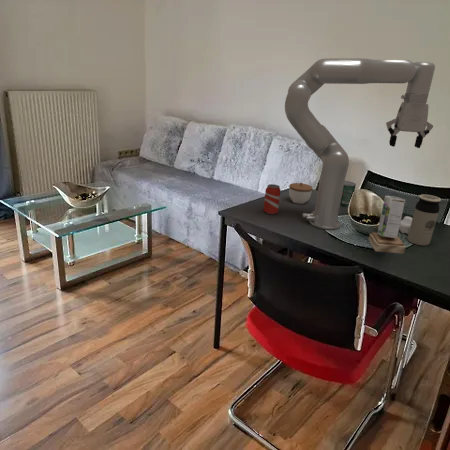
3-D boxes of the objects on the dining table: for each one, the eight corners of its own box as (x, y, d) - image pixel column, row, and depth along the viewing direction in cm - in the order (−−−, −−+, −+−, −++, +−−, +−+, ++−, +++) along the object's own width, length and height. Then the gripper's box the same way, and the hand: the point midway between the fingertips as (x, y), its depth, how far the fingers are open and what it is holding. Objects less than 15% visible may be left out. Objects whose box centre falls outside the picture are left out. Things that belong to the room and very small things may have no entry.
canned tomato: (331, 203, 191) (334, 181, 187) (343, 201, 195) (347, 180, 190) (342, 208, 185) (346, 186, 181) (355, 207, 188) (359, 184, 184)
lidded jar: (313, 205, 187) (316, 186, 183) (292, 205, 184) (294, 186, 181) (304, 198, 196) (307, 179, 193) (284, 198, 194) (286, 179, 190)
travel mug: (403, 236, 157) (415, 193, 150) (423, 238, 157) (436, 194, 150) (412, 245, 150) (424, 200, 143) (433, 246, 150) (446, 201, 143)
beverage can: (280, 213, 173) (284, 187, 169) (269, 215, 170) (272, 188, 165) (271, 209, 178) (274, 183, 173) (260, 211, 174) (263, 184, 170)
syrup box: (376, 233, 149) (383, 195, 146) (392, 235, 149) (400, 197, 146) (381, 236, 143) (389, 196, 141) (397, 238, 143) (406, 198, 140)
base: (375, 252, 143) (377, 242, 142) (368, 241, 152) (370, 231, 151) (403, 255, 143) (406, 244, 141) (394, 243, 152) (397, 233, 150)
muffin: (397, 233, 160) (401, 217, 158) (396, 228, 165) (400, 212, 163) (413, 236, 158) (417, 220, 156) (412, 231, 164) (416, 215, 161)
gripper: (396, 98, 139) (386, 147, 145) (444, 101, 140) (432, 150, 146) (388, 96, 146) (378, 143, 152) (433, 99, 147) (421, 146, 153)
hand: (404, 146), depth 149 cm, fingers open, 9 cm apart
